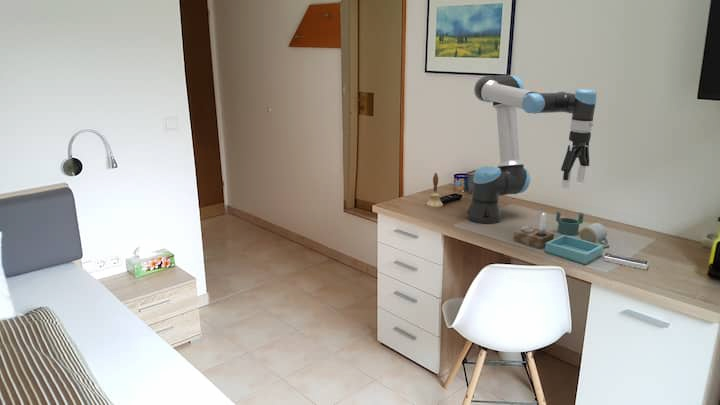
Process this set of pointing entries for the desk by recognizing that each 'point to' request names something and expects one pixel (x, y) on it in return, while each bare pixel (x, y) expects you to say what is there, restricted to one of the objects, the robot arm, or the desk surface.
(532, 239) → the brown wooden block
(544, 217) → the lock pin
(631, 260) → the multiport hub
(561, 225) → the bracket
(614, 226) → the desk surface
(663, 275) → the desk surface
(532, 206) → the desk surface
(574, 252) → the tray
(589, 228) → the ceramic mug
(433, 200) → the hand bell
